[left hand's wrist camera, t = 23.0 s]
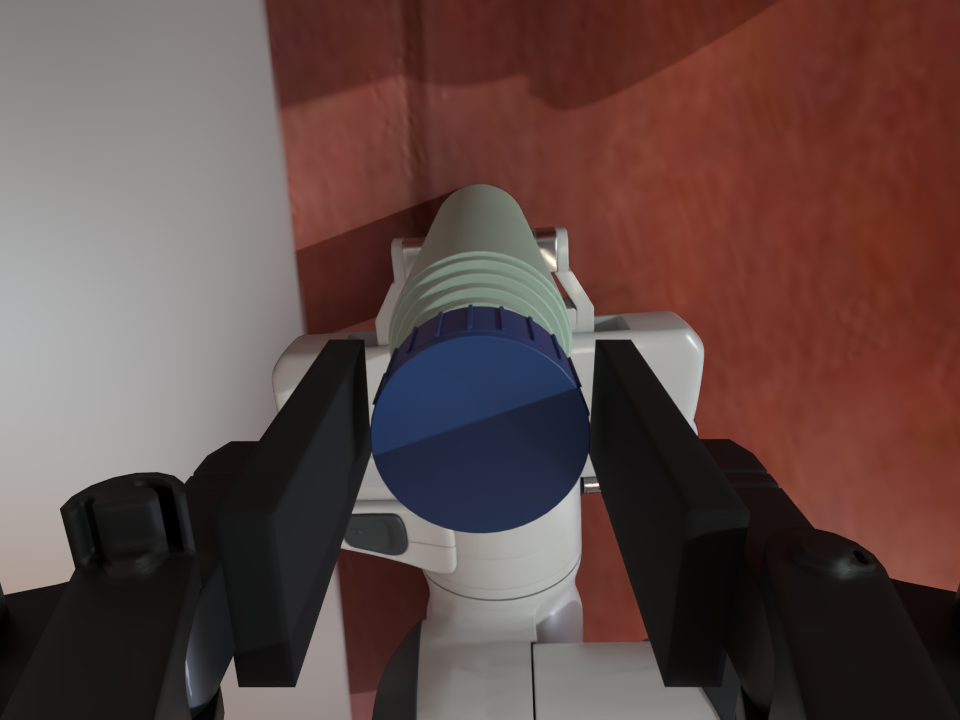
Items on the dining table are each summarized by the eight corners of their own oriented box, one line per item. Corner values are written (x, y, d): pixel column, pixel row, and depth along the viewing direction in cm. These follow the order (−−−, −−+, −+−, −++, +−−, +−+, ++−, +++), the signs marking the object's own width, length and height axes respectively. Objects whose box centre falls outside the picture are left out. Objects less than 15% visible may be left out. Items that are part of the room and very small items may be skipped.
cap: (340, 385, 14) (318, 426, 12) (494, 260, 13) (496, 284, 11) (467, 515, 15) (465, 572, 13) (617, 408, 14) (638, 453, 12)
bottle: (476, 294, 37) (470, 571, 14) (415, 227, 36) (301, 414, 13) (544, 235, 36) (656, 434, 13) (484, 163, 34) (492, 246, 12)
